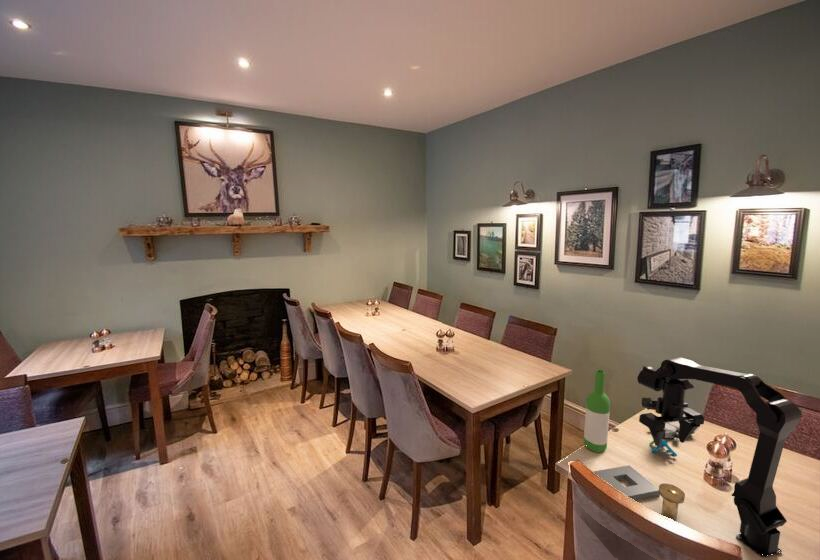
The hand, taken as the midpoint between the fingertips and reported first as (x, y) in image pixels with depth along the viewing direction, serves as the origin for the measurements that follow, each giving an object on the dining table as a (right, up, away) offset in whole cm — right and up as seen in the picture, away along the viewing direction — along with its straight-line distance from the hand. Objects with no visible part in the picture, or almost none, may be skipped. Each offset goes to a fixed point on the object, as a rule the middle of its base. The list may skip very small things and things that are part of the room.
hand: (669, 444), depth 116 cm
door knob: (-8, -16, -11) cm, 21 cm away
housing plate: (-14, -14, +1) cm, 19 cm away
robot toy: (+22, -9, +30) cm, 38 cm away
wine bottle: (-13, -11, +21) cm, 27 cm away
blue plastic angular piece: (+10, -11, +18) cm, 23 cm away
